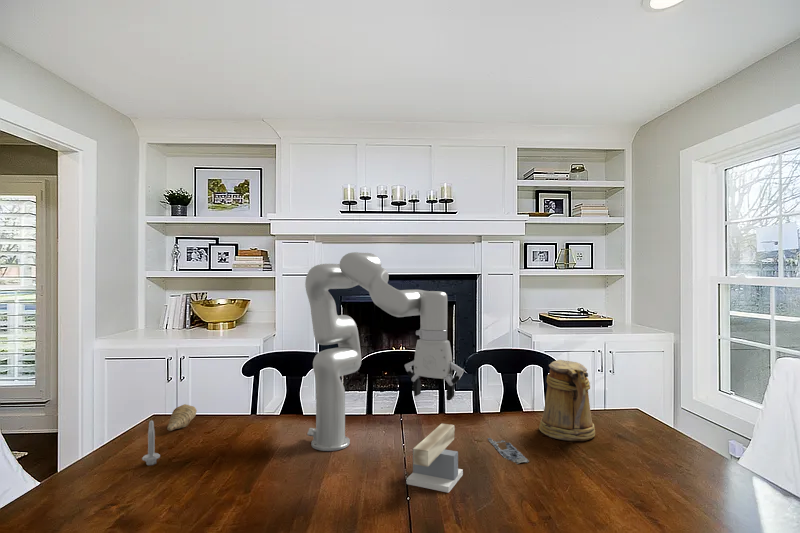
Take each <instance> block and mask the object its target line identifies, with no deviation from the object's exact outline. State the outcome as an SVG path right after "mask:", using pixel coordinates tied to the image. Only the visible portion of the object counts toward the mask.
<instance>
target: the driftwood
mask: <svg viewBox="0 0 800 533" xmlns="http://www.w3.org/2000/svg"><path fill="white" fill-rule="evenodd" d="M487 440H488V442H490V444H491V445H493V447H494V448H495V449H496V451H497V452H498V453H499V454H500V456H502V457H503V458H504V459H505V458H506V459H505V460H507V459H508V460H507V461H510V462H512V463H515V464H516V465H519V464H521V463H529V462H530V460H529V459H528V458H526V457H525V455H524V454H523V453H522V452H521V451H519V450H518V449H517V447H515V446H513V444H512V443H511V442H506V440H500V441H495V440H494V439H492V438H490V437H488V438H487ZM493 440H494V441H493ZM498 443H500V444H501V443H505V445H506V446H505V449H501V448H500V447H499V444H498Z"/></svg>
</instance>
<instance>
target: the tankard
mask: <svg viewBox="0 0 800 533" xmlns="http://www.w3.org/2000/svg"><path fill="white" fill-rule="evenodd" d="M548 367H549V373H548V374H547V376H546V383H547V384H546V385H547V386H546V393H545V400H544V406H543V414H542V417H541V419H540V422H539V426H538V430H539V431H540V432H541V433H542V434H543V435H544V436H547V437H549V438H552V439H556V440H560V441H566V442H585V441H588V440H591V439H593V438H594V437H595V436H596V428H595V424H594V423H593V421H592V420H593V419H592V413H591V406H590V405H591V404H590V398H589V396H590V395H589V390H590V389H591V385H590V384H591V383H590V381H589V378H588V377H589V373H588V372H587V371H588V369H587V367H586V366H584V364H582V363H580V362H577V361H570V360H566V359H565V360H563V359H557V360H554V361H552V362H550V364H548Z"/></svg>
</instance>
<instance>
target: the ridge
mask: <svg viewBox="0 0 800 533" xmlns="http://www.w3.org/2000/svg"><path fill="white" fill-rule="evenodd" d="M414 448H415V447H413V448H412V473H411V474H410V475H408V476H407V478H406V485H409V486H414V487H419V488H425V489H430V490H434V491H438V492H443V493H450V492H451V490H453V488H454V487H455V485H456V484H457V483H459V481H460V479H461V478H462V477H463V475H464V471H463V470H464V469H461V468H459V451H457V450H452V449H447V448H445V449H444V450H443V452H442V453H441V454H440V455H439V456H438V457H437V458H436V459H435V460H434V461H433V462H432V463H431V464H430V465H429V466H428V467H427V466H421V465H416V464H414Z"/></svg>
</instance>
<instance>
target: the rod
mask: <svg viewBox="0 0 800 533" xmlns="http://www.w3.org/2000/svg"><path fill="white" fill-rule="evenodd" d="M455 431H456V428H455V425H454V424H451V423H450V424H448V423H440V424H439V425H438V426H437V427H436V428H434V430H432V431H431V432H430V433H429V434H428V435H427V436H426V437H425V438H424V439H423V440H421V441H420V442H419V443H417V445H415V446H414V447H413V448H414V464H416V465H421V466H427V467H428V466H429V465H430V464H431V463H432V462H433V461H434V460H435V459H436V458H437V457H438V456H439V455H440V454H441V453H442V452H443V450H444V449H447V447H448V446H449V445H450V444H452V442H453V441H454V440H455V435H456V434H455Z"/></svg>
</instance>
